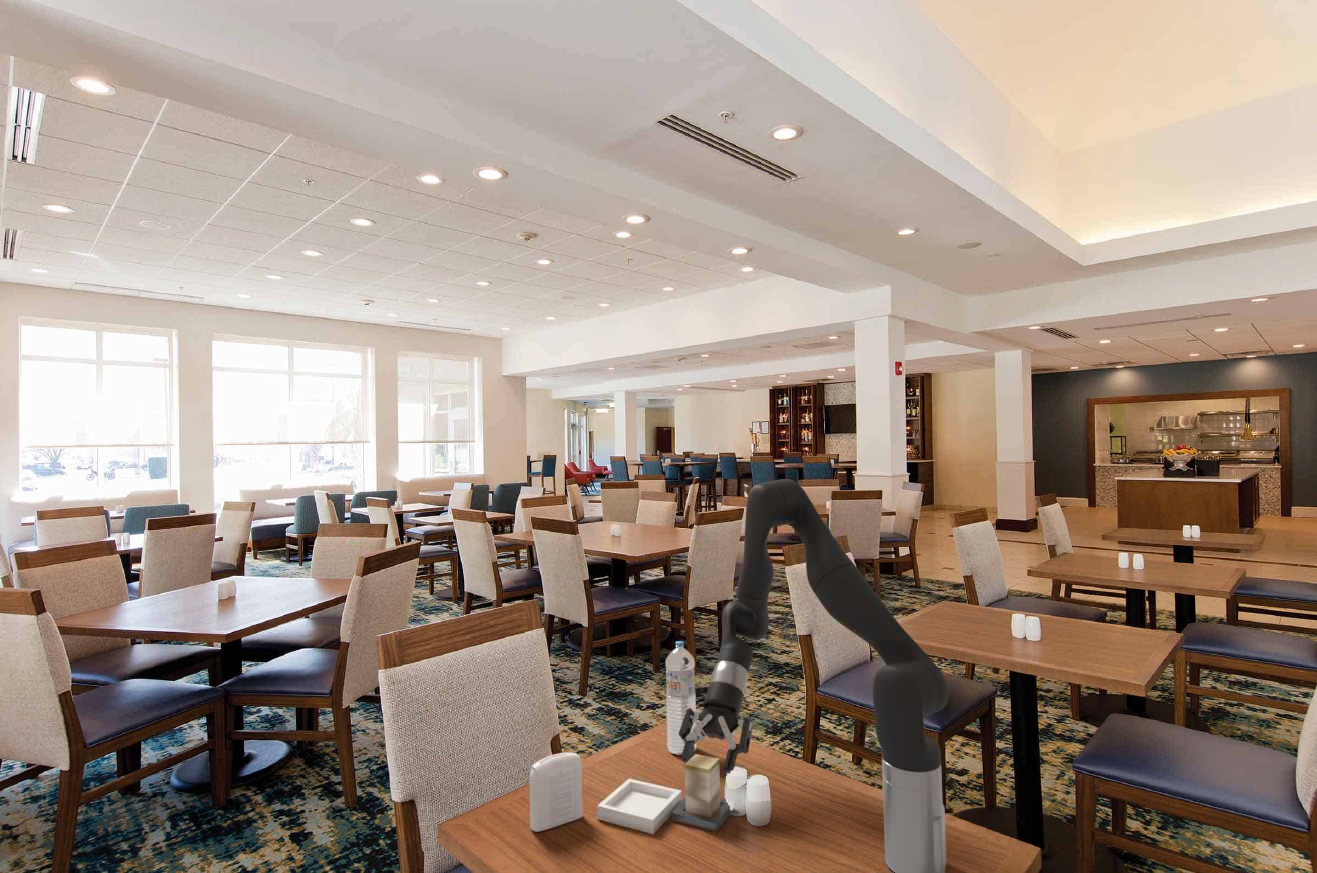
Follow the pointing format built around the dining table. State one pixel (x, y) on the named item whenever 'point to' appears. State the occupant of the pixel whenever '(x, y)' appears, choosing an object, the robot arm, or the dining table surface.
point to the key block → (702, 785)
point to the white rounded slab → (555, 791)
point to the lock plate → (702, 821)
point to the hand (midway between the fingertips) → (706, 767)
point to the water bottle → (679, 694)
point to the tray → (639, 805)
